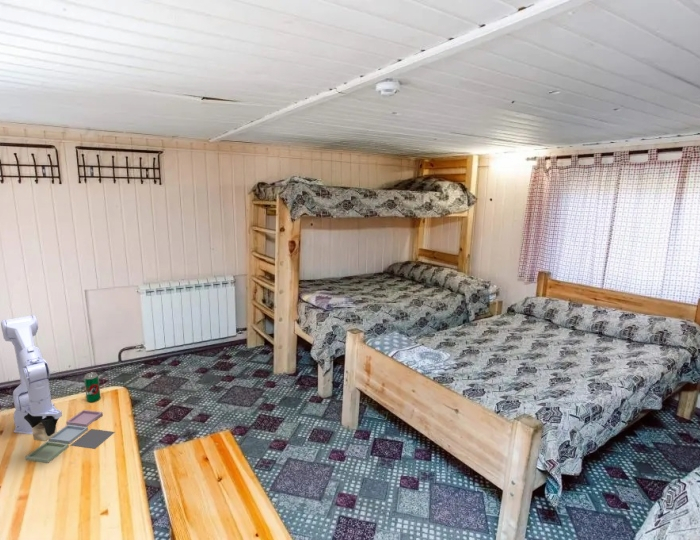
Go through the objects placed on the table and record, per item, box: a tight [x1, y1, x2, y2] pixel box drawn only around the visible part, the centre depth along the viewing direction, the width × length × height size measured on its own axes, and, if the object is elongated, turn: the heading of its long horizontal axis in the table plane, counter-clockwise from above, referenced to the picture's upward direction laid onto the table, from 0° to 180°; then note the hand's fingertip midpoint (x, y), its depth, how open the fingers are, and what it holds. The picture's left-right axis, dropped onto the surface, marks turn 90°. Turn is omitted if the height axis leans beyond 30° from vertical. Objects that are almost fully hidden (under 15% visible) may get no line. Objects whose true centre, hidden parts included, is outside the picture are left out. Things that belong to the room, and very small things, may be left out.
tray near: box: [24, 440, 70, 464], centre depth 138 cm, size 8×8×2 cm
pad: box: [69, 428, 116, 450], centre depth 146 cm, size 10×10×1 cm
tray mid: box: [47, 424, 89, 445], centre depth 147 cm, size 8×8×2 cm
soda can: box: [83, 371, 101, 403], centre depth 171 cm, size 5×5×12 cm
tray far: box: [66, 409, 104, 427], centre depth 157 cm, size 8×8×2 cm
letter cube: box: [32, 423, 58, 443], centre depth 136 cm, size 4×4×5 cm
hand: (44, 433), depth 136 cm, fingers closed on letter cube, 5 cm apart
